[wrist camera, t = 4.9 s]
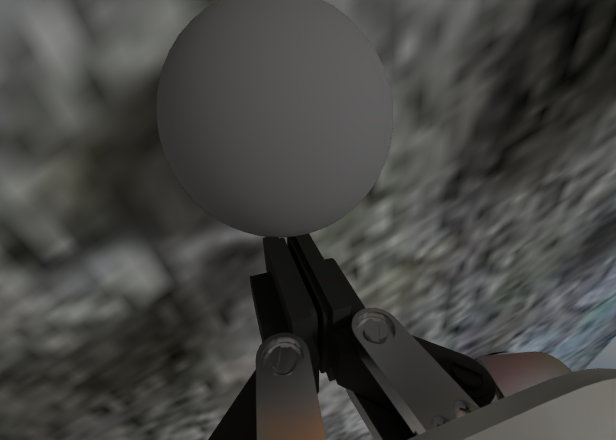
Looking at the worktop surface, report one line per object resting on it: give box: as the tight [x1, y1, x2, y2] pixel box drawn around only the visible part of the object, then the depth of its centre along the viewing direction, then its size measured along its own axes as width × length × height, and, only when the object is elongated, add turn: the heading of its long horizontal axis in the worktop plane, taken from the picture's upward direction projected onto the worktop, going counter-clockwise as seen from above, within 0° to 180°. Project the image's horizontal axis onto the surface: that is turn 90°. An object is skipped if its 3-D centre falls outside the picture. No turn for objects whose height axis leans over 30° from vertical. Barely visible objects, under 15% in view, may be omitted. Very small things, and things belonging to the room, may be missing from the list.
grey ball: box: [156, 0, 393, 237], centre depth 7 cm, size 6×6×6 cm
